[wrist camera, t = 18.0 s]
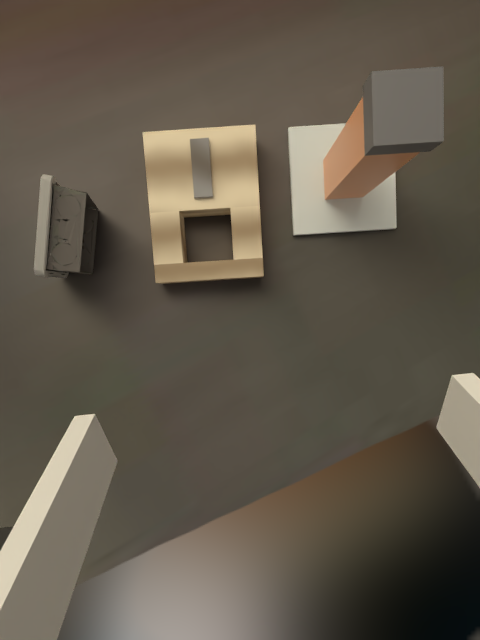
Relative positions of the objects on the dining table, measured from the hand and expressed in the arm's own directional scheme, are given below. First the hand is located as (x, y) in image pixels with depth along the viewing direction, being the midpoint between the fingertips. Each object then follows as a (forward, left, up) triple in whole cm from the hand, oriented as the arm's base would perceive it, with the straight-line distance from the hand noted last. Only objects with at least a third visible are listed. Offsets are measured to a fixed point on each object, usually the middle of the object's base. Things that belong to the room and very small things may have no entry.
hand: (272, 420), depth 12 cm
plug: (+5, +20, -26) cm, 33 cm away
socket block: (-9, +12, -26) cm, 30 cm away
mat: (+5, +20, -26) cm, 34 cm away
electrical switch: (-22, +5, -27) cm, 35 cm away
